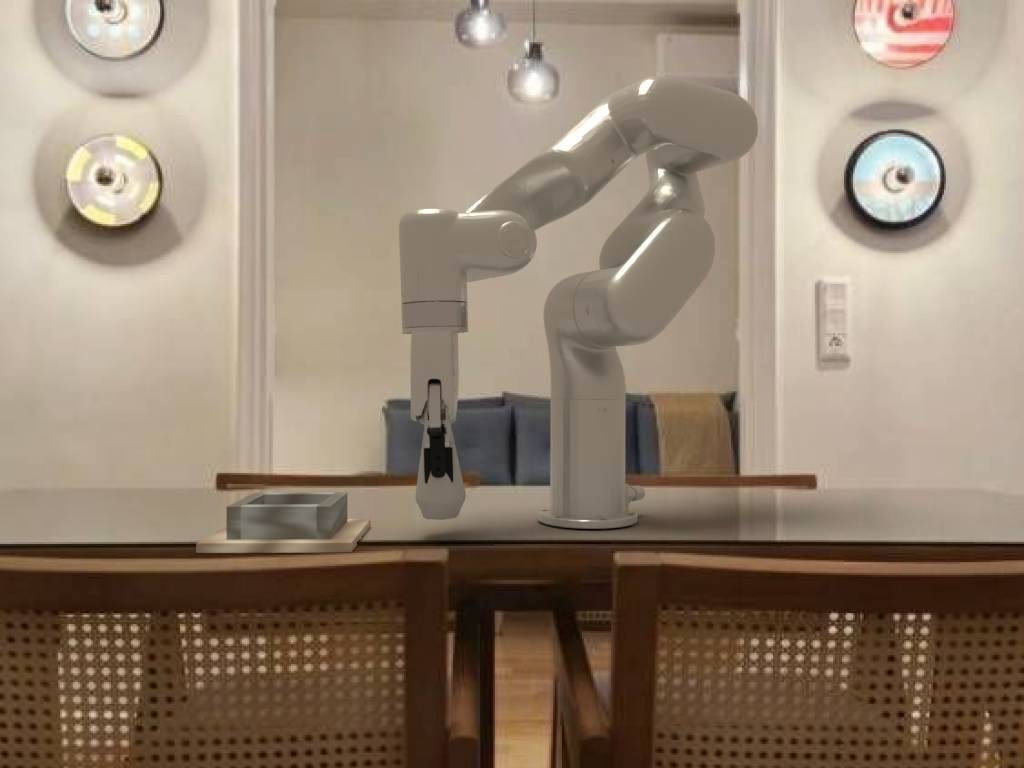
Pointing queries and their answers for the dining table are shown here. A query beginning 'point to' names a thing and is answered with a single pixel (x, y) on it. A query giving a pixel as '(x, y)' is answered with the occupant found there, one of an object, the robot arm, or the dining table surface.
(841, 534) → the dining table surface
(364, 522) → the holder
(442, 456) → the robot arm
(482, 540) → the dining table surface
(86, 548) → the dining table surface
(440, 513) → the salt shaker
